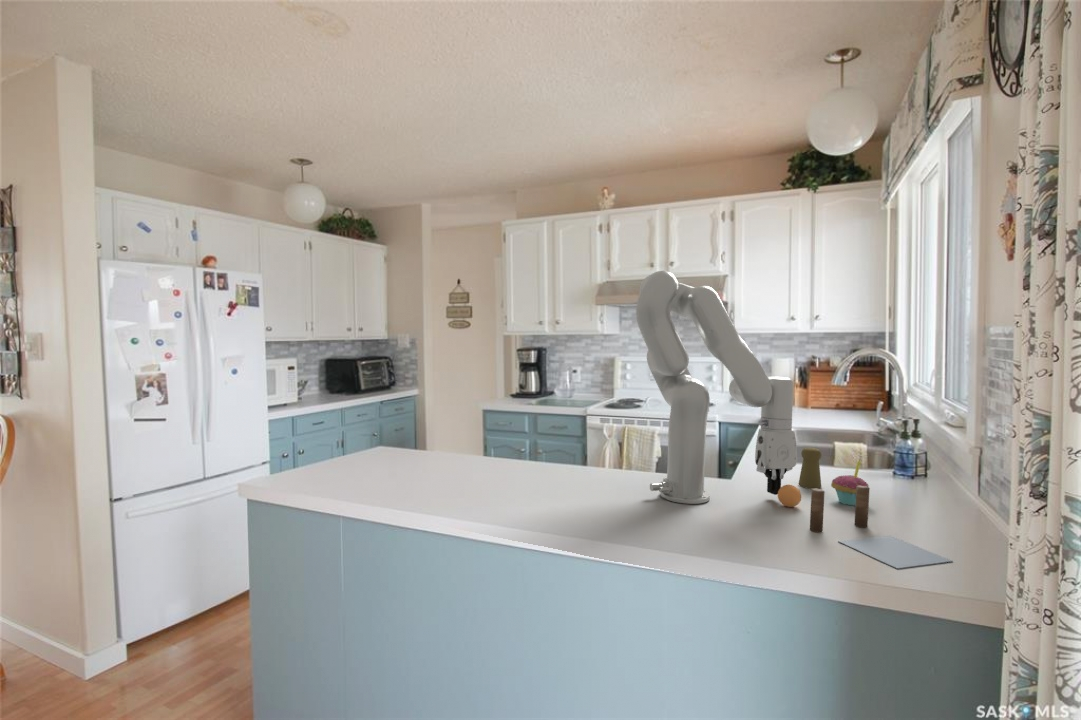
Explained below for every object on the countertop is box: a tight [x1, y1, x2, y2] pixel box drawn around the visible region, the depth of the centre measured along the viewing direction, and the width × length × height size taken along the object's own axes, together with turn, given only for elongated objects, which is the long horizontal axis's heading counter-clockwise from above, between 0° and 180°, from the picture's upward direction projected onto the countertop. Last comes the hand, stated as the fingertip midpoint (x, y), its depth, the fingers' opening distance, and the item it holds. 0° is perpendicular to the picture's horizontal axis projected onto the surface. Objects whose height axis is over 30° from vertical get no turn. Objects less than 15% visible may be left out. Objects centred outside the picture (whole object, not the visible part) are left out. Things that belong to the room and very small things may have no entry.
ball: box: [777, 484, 802, 508], centre depth 144 cm, size 6×6×6 cm
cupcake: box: [830, 458, 870, 506], centre depth 148 cm, size 9×8×12 cm
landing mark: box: [838, 535, 954, 570], centre depth 116 cm, size 14×14×1 cm
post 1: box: [809, 488, 825, 533], centre depth 127 cm, size 3×3×9 cm
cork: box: [798, 446, 822, 489], centre depth 164 cm, size 6×6×11 cm
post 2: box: [854, 486, 871, 529], centre depth 131 cm, size 3×3×9 cm
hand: (773, 493), depth 150 cm, fingers closed
